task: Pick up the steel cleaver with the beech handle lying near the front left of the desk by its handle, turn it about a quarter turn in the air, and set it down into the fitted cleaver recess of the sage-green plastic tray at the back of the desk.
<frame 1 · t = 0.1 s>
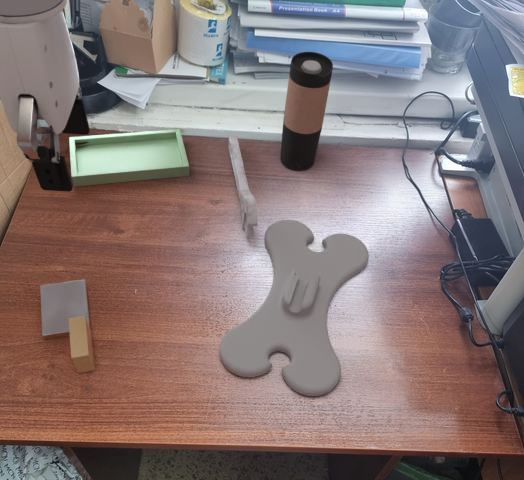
hand: (67, 159, 56), 29 cm above the table, tool pointing down, fingers open, 9 cm apart
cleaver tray: (130, 161, 101), on the table
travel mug: (296, 160, 105), on the table
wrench: (240, 195, 99), on the table
cleaver: (84, 352, 77), on the table
holder: (298, 303, 85), on the table
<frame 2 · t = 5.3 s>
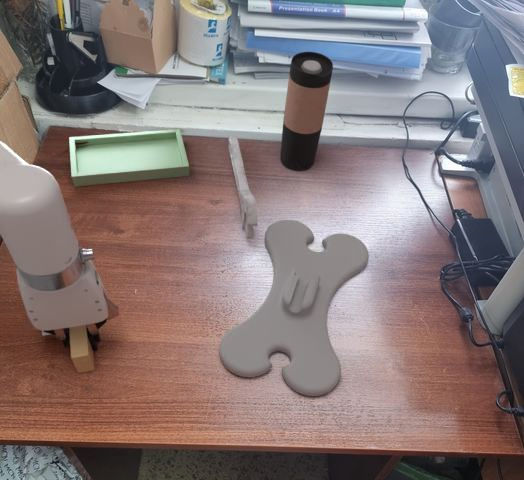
hand: (83, 343, 77), 0 cm above the table, tool pointing down, fingers closed on cleaver, 2 cm apart
cleaver: (84, 352, 77), on the table, touching gripper
everything else where it was.
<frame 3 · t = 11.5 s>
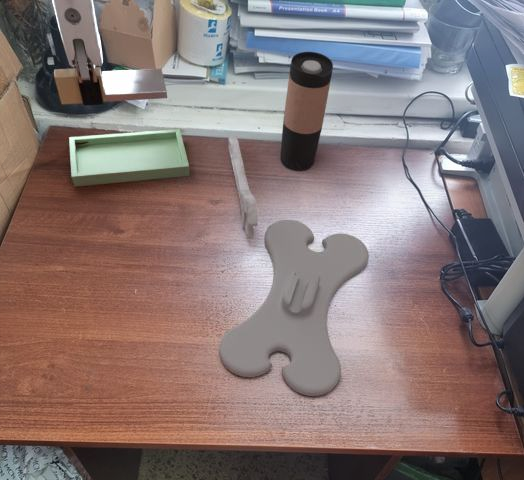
hand: (92, 97, 83), 17 cm above the table, tool pointing down, fingers closed on cleaver, 2 cm apart
cleaver: (83, 99, 83), point 17 cm above the table, touching gripper
everything else where it was.
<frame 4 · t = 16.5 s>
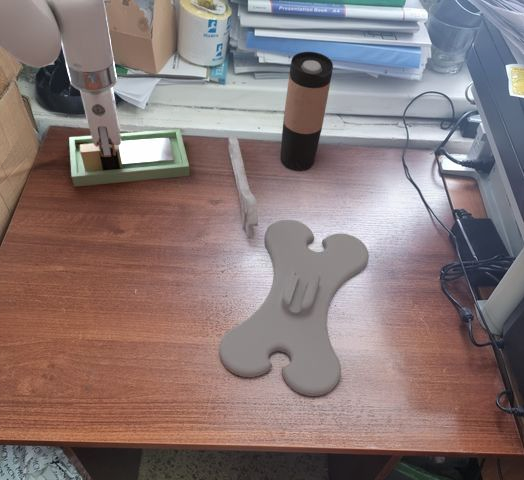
hand: (111, 165, 98), 1 cm above the table, tool pointing down, fingers closed on cleaver, 2 cm apart
cleaver: (103, 166, 98), point 1 cm above the table, touching gripper
everything else where it was.
when the fingers open (2 cm above the table, at t = 17.8 s): cleaver stays where it is, resting on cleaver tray.
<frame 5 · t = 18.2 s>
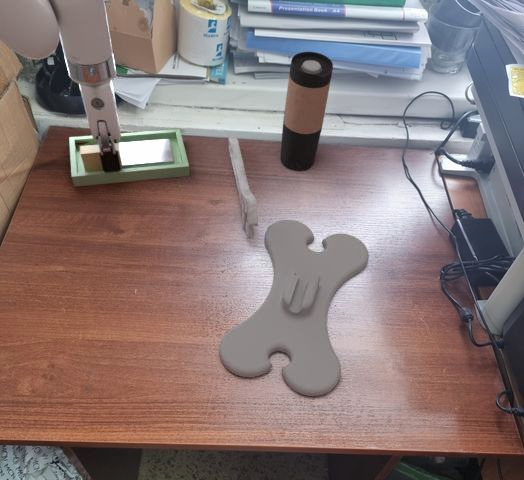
hand: (110, 158, 97), 3 cm above the table, tool pointing down, fingers open, 5 cm apart
cleaver: (104, 168, 98), point 1 cm above the table, touching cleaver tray
everything else where it was.
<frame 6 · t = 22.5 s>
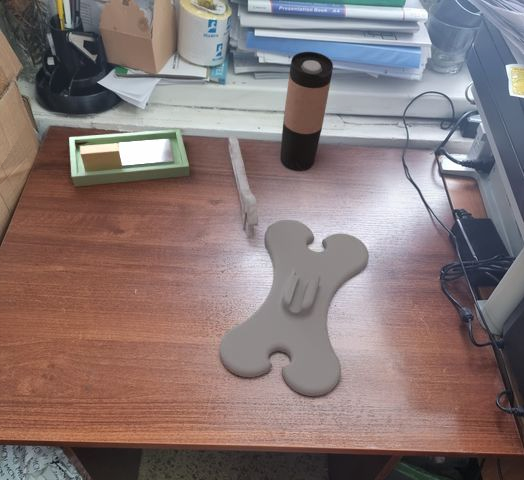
nothing on the table moved.
at the end: cleaver 0.1 cm from the target spot in the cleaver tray, point 0.8 cm above the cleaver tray's base; cleaver tilted 0°; the gripper is holding nothing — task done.
